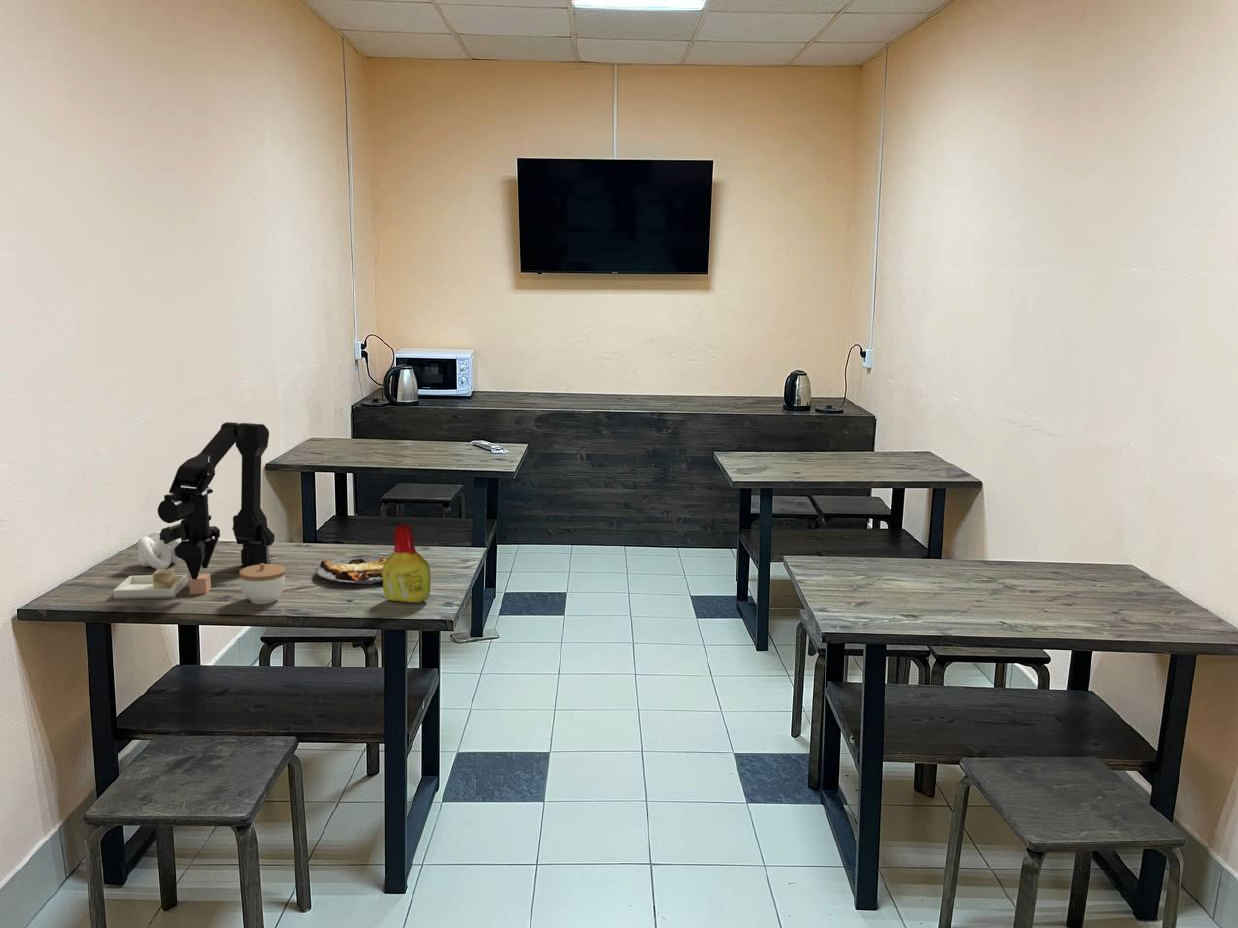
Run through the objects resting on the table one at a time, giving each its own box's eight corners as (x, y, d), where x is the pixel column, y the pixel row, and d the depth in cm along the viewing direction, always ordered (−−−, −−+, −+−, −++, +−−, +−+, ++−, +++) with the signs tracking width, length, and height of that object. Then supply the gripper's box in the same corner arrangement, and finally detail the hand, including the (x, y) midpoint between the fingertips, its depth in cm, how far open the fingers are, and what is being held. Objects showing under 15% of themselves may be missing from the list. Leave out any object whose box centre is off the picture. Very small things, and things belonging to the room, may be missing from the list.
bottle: (379, 603, 239) (377, 525, 235) (388, 595, 245) (386, 519, 242) (425, 606, 238) (424, 528, 234) (433, 598, 244) (432, 521, 240)
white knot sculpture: (169, 574, 258) (167, 541, 256) (124, 572, 258) (122, 540, 256) (188, 561, 269) (186, 530, 267) (146, 560, 269) (144, 529, 268)
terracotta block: (211, 588, 247) (210, 573, 246) (206, 593, 243) (205, 578, 242) (194, 589, 246) (193, 574, 246) (189, 594, 242) (189, 578, 242)
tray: (187, 582, 251) (187, 574, 250) (173, 597, 239) (173, 589, 239) (130, 583, 249) (130, 575, 248) (113, 599, 237) (113, 590, 237)
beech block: (175, 583, 248) (174, 568, 248) (170, 588, 244) (169, 573, 244) (158, 583, 248) (157, 569, 247) (153, 588, 244) (152, 573, 243)
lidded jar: (243, 609, 232) (241, 572, 231) (238, 596, 242) (236, 560, 240) (289, 603, 237) (288, 567, 235) (282, 591, 246) (281, 555, 245)
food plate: (321, 591, 247) (321, 578, 246) (310, 567, 267) (310, 555, 267) (418, 584, 257) (418, 571, 256) (400, 561, 278) (400, 549, 277)
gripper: (173, 505, 249) (177, 563, 252) (149, 523, 231) (154, 585, 234) (219, 505, 250) (222, 562, 253) (198, 522, 232) (202, 584, 235)
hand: (199, 573), depth 244 cm, fingers open, 9 cm apart
